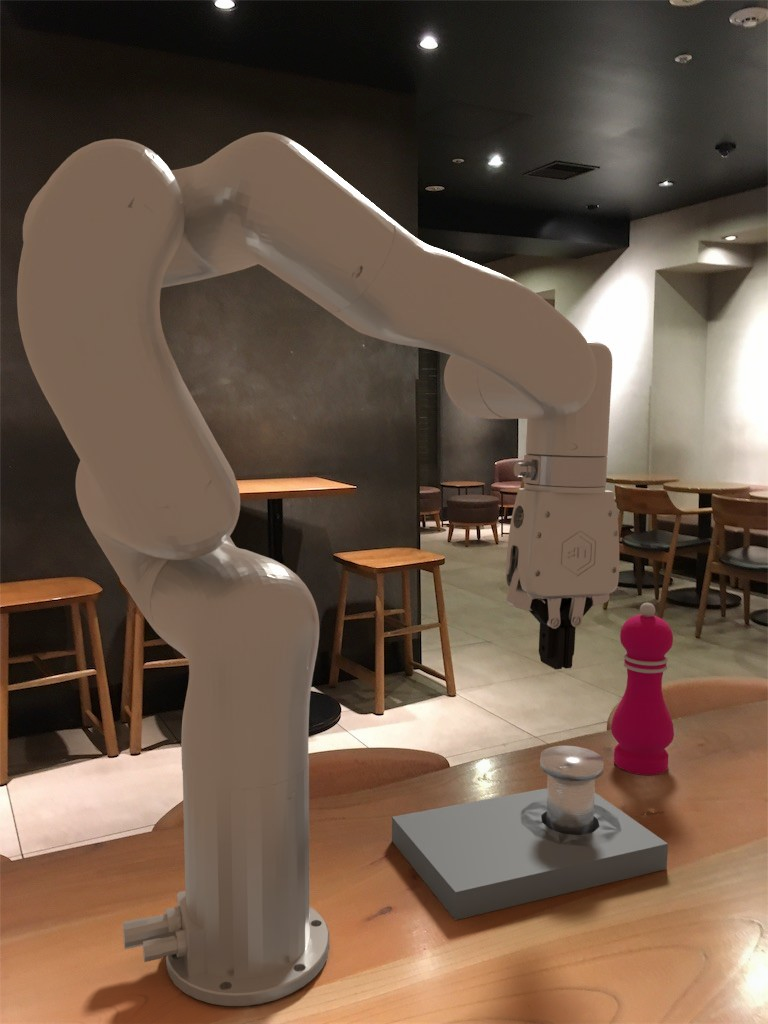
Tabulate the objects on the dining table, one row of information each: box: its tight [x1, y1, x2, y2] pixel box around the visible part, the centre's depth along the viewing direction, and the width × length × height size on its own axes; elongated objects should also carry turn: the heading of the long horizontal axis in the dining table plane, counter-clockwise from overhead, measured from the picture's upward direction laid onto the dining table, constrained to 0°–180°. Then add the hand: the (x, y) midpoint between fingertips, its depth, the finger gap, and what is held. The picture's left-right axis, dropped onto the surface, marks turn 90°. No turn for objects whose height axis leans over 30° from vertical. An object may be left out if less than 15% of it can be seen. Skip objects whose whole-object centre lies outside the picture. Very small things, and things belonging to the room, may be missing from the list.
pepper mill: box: [610, 602, 675, 776], centre depth 100 cm, size 7×7×20 cm
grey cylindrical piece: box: [539, 745, 605, 835], centre depth 82 cm, size 6×6×9 cm
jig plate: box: [391, 787, 669, 921], centre depth 80 cm, size 22×14×2 cm, turn 112°
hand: (555, 664), depth 81 cm, fingers closed
